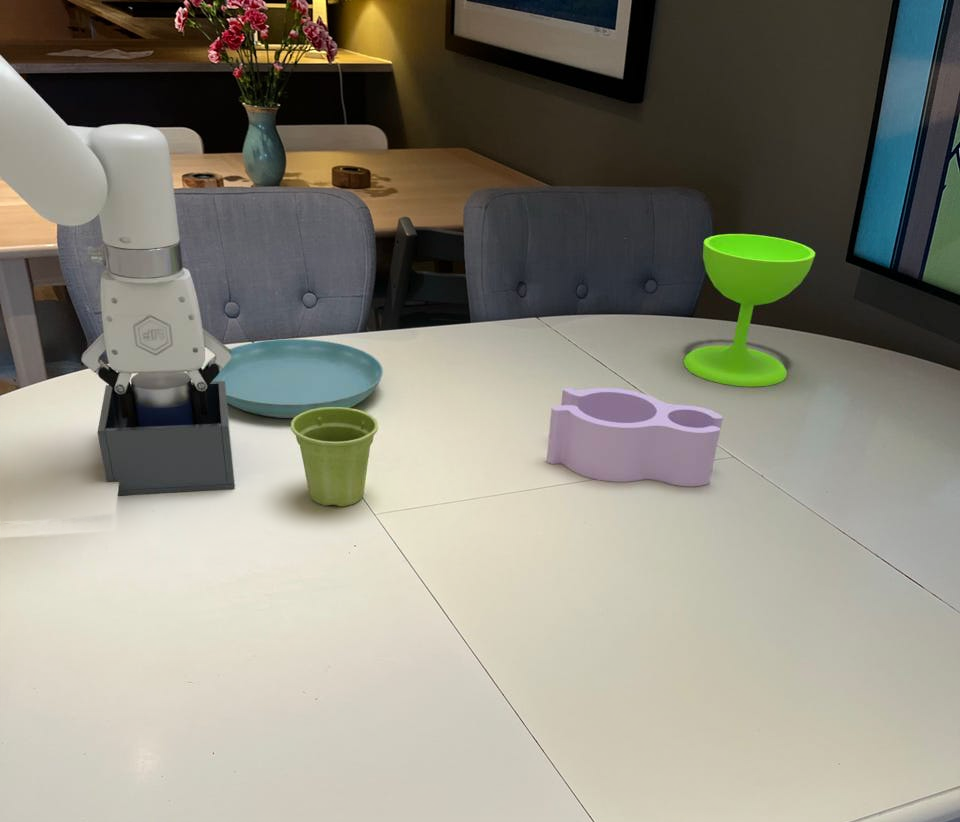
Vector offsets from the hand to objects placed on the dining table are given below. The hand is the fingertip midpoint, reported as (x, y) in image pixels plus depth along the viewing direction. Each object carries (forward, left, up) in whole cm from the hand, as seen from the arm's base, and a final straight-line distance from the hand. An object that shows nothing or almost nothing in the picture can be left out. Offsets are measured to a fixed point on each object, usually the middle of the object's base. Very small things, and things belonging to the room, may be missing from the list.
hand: (166, 420), depth 113 cm
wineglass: (+84, +25, -6) cm, 88 cm away
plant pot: (+18, -10, -6) cm, 21 cm away
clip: (+55, -6, -6) cm, 56 cm away
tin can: (0, 0, -5) cm, 5 cm away
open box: (0, 0, -6) cm, 6 cm away
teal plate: (+16, +22, -6) cm, 28 cm away
